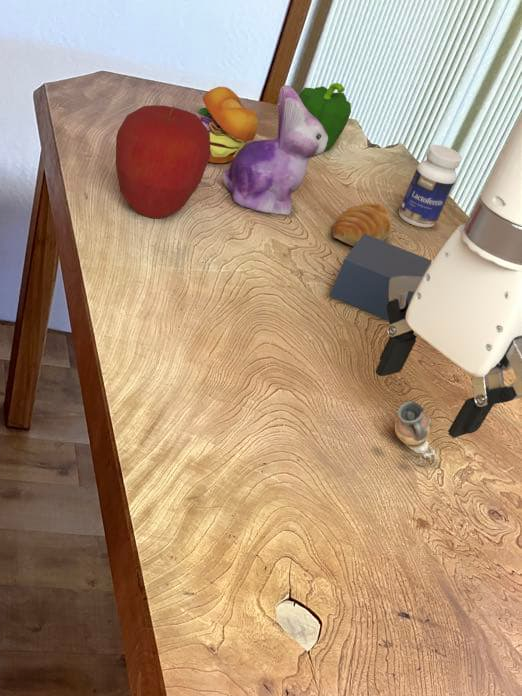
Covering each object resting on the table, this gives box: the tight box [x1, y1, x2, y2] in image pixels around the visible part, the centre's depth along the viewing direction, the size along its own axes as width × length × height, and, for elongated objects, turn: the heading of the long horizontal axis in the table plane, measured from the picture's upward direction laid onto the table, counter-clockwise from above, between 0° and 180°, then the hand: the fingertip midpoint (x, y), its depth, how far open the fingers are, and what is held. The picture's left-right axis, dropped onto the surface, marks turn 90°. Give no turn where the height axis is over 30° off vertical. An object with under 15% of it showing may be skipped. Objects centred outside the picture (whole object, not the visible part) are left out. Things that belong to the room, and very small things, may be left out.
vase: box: [394, 394, 438, 464], centre depth 87 cm, size 5×5×6 cm
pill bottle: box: [398, 144, 463, 229], centre depth 128 cm, size 6×6×10 cm
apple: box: [115, 104, 211, 219], centre depth 112 cm, size 12×12×13 cm
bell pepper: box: [298, 82, 352, 152], centre depth 141 cm, size 8×8×10 cm
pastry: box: [331, 201, 393, 247], centre depth 121 cm, size 9×7×4 cm
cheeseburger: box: [191, 86, 259, 164], centre depth 132 cm, size 10×11×10 cm
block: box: [329, 234, 433, 322], centre depth 110 cm, size 9×9×5 cm
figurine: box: [221, 84, 328, 216], centre depth 120 cm, size 9×10×15 cm
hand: (422, 402), depth 85 cm, fingers open, 9 cm apart
